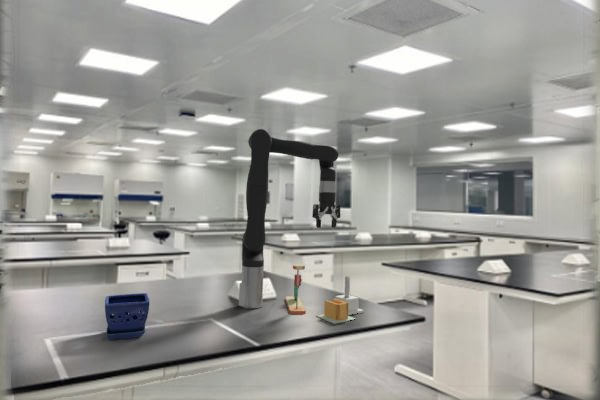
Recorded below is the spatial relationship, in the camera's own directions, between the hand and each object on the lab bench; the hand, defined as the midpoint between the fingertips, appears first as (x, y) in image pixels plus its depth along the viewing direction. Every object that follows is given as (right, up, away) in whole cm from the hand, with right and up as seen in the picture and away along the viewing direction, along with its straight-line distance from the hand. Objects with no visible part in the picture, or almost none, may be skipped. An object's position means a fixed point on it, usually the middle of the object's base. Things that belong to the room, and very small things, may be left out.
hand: (326, 227), depth 180 cm
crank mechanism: (-14, -34, -5) cm, 37 cm away
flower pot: (-69, -32, -48) cm, 90 cm away
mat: (+2, -34, -22) cm, 40 cm away
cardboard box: (+2, -34, -22) cm, 40 cm away
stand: (+8, -34, -11) cm, 37 cm away
